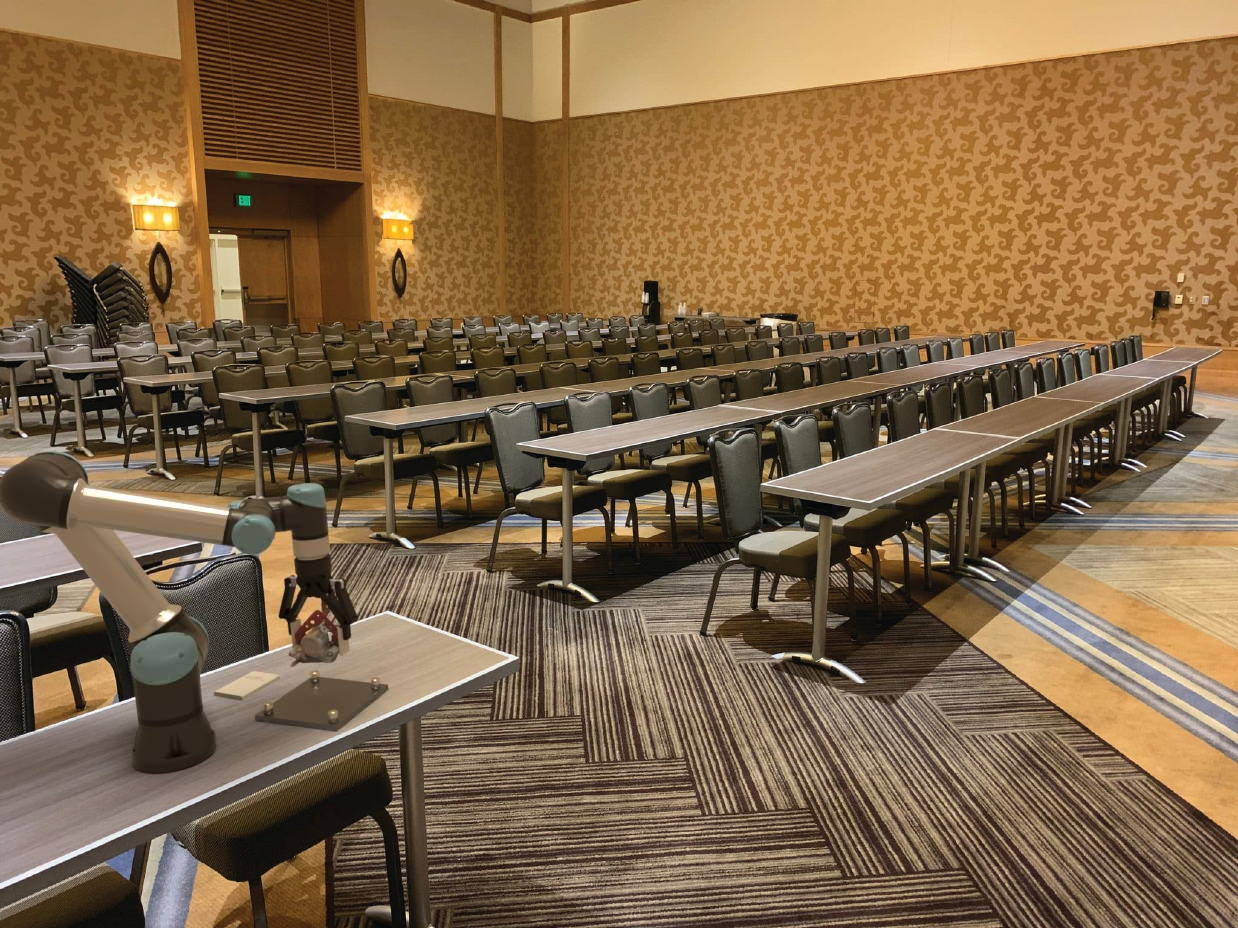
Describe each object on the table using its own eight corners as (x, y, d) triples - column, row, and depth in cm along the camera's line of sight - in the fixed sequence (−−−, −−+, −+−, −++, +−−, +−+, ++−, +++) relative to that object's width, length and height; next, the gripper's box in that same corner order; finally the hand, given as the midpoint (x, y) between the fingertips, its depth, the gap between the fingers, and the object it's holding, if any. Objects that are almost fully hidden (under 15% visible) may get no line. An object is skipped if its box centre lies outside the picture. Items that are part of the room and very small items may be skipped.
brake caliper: (357, 636, 206) (340, 607, 197) (343, 680, 198) (324, 652, 190) (310, 635, 207) (290, 606, 198) (294, 678, 200) (273, 650, 191)
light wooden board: (214, 697, 208) (252, 676, 220) (242, 702, 205) (280, 680, 217) (213, 691, 208) (252, 669, 219) (242, 696, 205) (279, 674, 216)
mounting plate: (255, 720, 195) (253, 706, 195) (313, 680, 215) (311, 667, 214) (336, 731, 190) (335, 716, 189) (388, 689, 210) (387, 676, 209)
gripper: (369, 553, 196) (377, 648, 201) (276, 547, 203) (285, 640, 207) (350, 563, 189) (359, 662, 193) (254, 557, 196) (264, 653, 200)
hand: (321, 650), depth 200 cm, fingers closed on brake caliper, 11 cm apart
